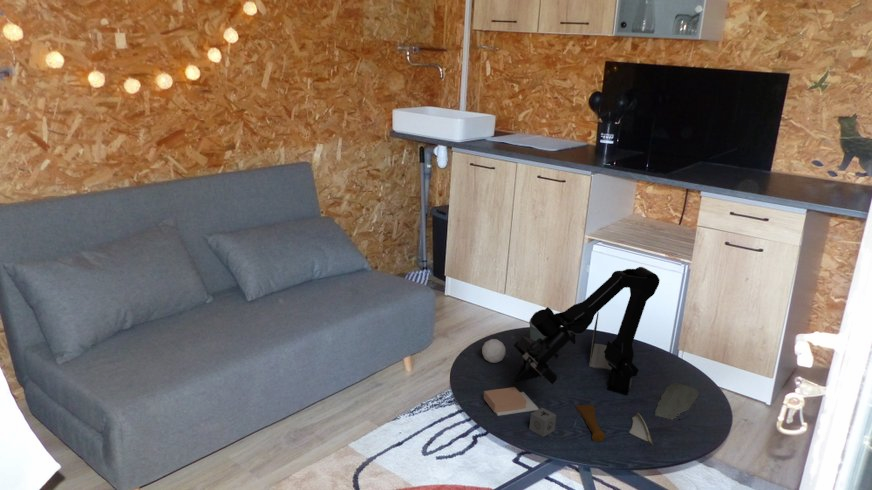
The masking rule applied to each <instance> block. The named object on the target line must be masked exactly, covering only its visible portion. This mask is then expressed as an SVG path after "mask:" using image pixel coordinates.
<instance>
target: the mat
mask: <svg viewBox="0 0 872 490" xmlns="http://www.w3.org/2000/svg"><path fill="white" fill-rule="evenodd" d="M519 392H520V391H519ZM520 393H521V395H522V396H523V397H524V398H525V399H526V400H527V401H526V408H521V409H515V410H508V411H501V412H494V413H495V414H496V416H498V417H499V416H506V415H512V414H518V413H526V412H532V411H533V412H534V411H537V410H538V409H539V407H538V406H537V405H536V404H535V402H534V401H532V399H530V397H529V396H528V395H527V394H526V393H525V392H524V391H521V392H520Z"/></svg>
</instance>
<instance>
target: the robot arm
mask: <svg viewBox="0 0 872 490" xmlns="http://www.w3.org/2000/svg"><path fill="white" fill-rule="evenodd" d="M660 280H661V279H660V278H659V276H658V275H657V274H656V273H655V272H653V271H652V270H649V269H648V268H645V267H644V266H638V267H636V268H626V269H623V270H614V271H613V272H612V273H611V276H610V277H609V278H608V279H607V280H606V281H604V282H603V283H602V284H601V285H600V286H599V287H597V289H596V290H595V291H593V292H592V293H591V294H590V295H589V296H588V297H587V298H586V299H584V301H582V302H578V303H576V304H573V305H572V306H570V307H569V308H567V309H566V310H565V311H561V312H558V313H554V311H553V310H552V309H551V308H550V307H548V306H547V307H545V308H544V309H540V310H538V311H536V312H534V313H533V314H532V316H531V318H530V319H531V323H532V325H533V326H534V327H535V328H536V329H537V330H538V331H539V332H540V333H541V334H542V335H543V336H546V337H545V338H544V339H543V340H542V339H541V338H540V339H538V340H537V341H534V340H532V339H530V337H527V336H524V335H521V337H520V339H519V340H518V341H516V342H515V343H514V344H513V347H514V348H515V349H516V350H517V351H518V352H519V353H520V355H519V356H520V366H519V368H518V370H517V372H516V374H515V377H514V378H513V380H512V381H513V382H514V383H515V385H517V384H518V385H519V384H520V383H523V382H525V381H528V380H531V379H534V378H539V377H540V378H542V377H544V378H545V379H546V380H547V381H548V382H549V383H550V384H551V385H554V383H556V381H557V380H558V375H557V374H556V373H555V372H554V371H553V370H552V369H551V368H550V365H549V364H548V363H550V361H551V360H552V359H553V358H555V359H558V358H559V351H561V350H562V349H563V348H564V347H565V346H566V344H568V343H569V342H571V343H572V344H573V345H575V344H576V336H577V335H576V334H583V333H584V332H585V331H586V330H587V329H588V328H589V326H590V325H591V324H592V323H593V320H594V318H595V316H596V315H597V313H598V312H599V311H600V310H601V309H603V308H604V307H605V306H606V305H607V304H608V303H609V302H610V301H611V300H612V299H613V298H614V297H616V296H617V294H619V293H621V291H622V290H623V289H625V288H629V293H630V296H629V298H628V301H627V304H626V308H625V311H624V314H623V317H622V320H621V323H620V326H619V329H618V333H617V336H616V338H615V339H613V340H611V341H609V340H608V341H607V342H606V345H607V346H606V349H605V351H604V353H605V359H606V361H607V362H608V365H609V366H611V367H612V369H611V370H609V372H608V375H607V382H606V385H607V387H606V390H608V391H612V392H615V393H619V394H622V395H624V396H627V395H629V393H630V392H631V390H632V388H633V384H632V383H633V377H636V376H637V375H638V373H639V369H638V367H636V366H635V364H634V363H633V360H634V356H635V355H634V353H635V352H634V347H633V344H634V343H633V342H634V339H635V337H636V333H637V331H638V327H639V326H640V322H641V319H642V317H643V313H644V310H645V307H646V304H647V301H648V300H649V299H650V298H652V297H653V296H654V294H655V293H656V291H657V289H658V287H659V284H660ZM560 326H561V327H560ZM534 358H535V359H534Z"/></svg>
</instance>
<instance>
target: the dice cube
mask: <svg viewBox="0 0 872 490" xmlns="http://www.w3.org/2000/svg"><path fill="white" fill-rule="evenodd" d="M529 419H530V421H529V427H528V429H529V430H530V431H532V432H534V433H535V434H537V435H538V436H541V437H543V438H544V437H547V435H549V434H551V433H553V432H555V430H556V424H557V423H556V422H557V414H555V413H554V412H551V411H550V410H548V409H546V408H544V407H541V408H538V410H534V411H533V412H531V413H530V417H529Z"/></svg>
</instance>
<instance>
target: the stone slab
mask: <svg viewBox="0 0 872 490" xmlns="http://www.w3.org/2000/svg"><path fill="white" fill-rule="evenodd" d="M698 394H700V392H699V390H697V389H696V388H695V387H691V386H689V385H684V384H681V383H679V382H675V383H674V382H673V383H671V384H669V385H668V386H666V388H665V389H664V393H663V394H661V396H660V400H659V401H658V402H657V406H656V409H655V411H654V416H655V417H657V416H659V417H658V418H661V417H663V418H662V419H665V418H667V419H666V420H670V419H671V421H673V419H674V418H677V417H676V416H679V415H680V413H682V412H684V411H687V410H689V408H690V407H691V405H692V404H693V402H694V401H695V399H696V398H697V396H698ZM695 402H696V401H695ZM677 414H679V415H677Z"/></svg>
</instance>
